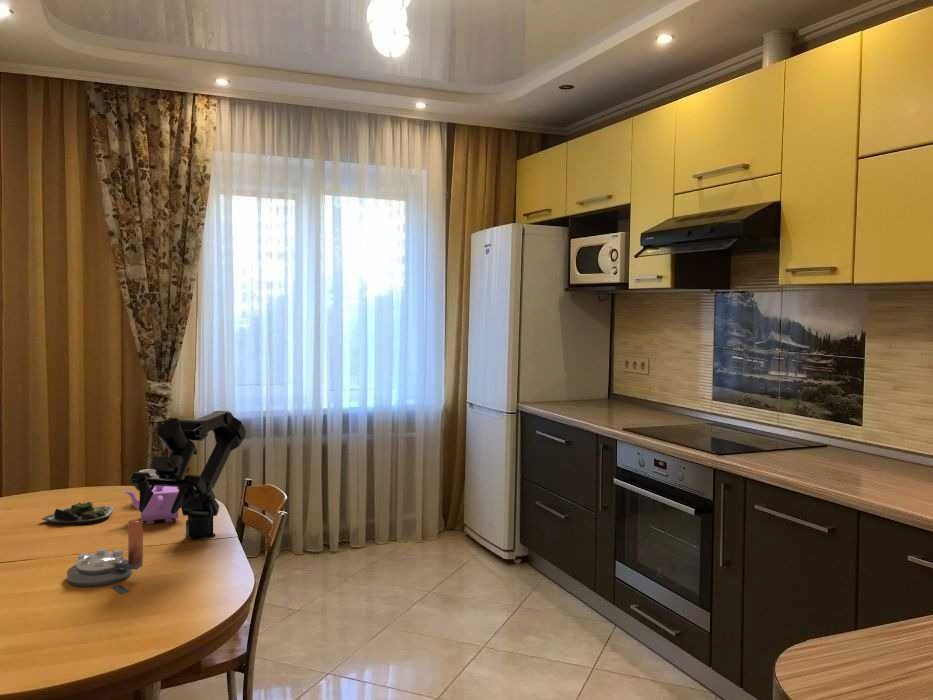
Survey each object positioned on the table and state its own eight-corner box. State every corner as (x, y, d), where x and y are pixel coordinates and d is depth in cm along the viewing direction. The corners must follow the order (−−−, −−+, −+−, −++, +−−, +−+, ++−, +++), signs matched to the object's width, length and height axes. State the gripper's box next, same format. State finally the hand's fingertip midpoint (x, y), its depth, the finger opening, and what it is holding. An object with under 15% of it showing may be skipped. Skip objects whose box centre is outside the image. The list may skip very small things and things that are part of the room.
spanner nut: (66, 572, 167) (66, 523, 166) (93, 558, 177) (93, 512, 176) (129, 577, 165) (130, 527, 165) (153, 562, 175) (153, 515, 175)
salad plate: (59, 509, 226) (59, 495, 226) (120, 507, 230) (120, 493, 230) (37, 528, 207) (37, 512, 207) (103, 525, 211) (103, 510, 211)
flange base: (124, 561, 181) (124, 554, 181) (147, 587, 165) (147, 579, 165) (61, 573, 172) (61, 565, 172) (80, 602, 156) (79, 593, 156)
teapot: (155, 529, 207) (155, 493, 207) (122, 523, 213) (122, 487, 212) (194, 516, 221) (195, 482, 221) (163, 510, 227) (163, 477, 226)
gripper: (133, 441, 185) (107, 494, 174) (201, 444, 182) (179, 498, 172) (150, 464, 193) (126, 516, 183) (215, 467, 191) (195, 520, 181)
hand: (156, 512), depth 179 cm, fingers open, 8 cm apart
